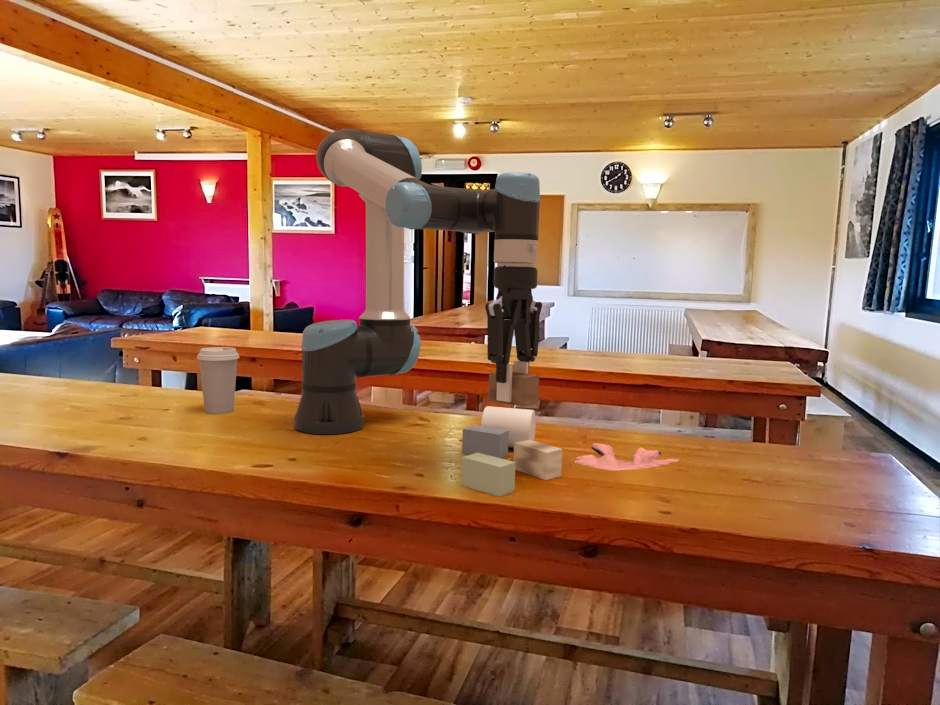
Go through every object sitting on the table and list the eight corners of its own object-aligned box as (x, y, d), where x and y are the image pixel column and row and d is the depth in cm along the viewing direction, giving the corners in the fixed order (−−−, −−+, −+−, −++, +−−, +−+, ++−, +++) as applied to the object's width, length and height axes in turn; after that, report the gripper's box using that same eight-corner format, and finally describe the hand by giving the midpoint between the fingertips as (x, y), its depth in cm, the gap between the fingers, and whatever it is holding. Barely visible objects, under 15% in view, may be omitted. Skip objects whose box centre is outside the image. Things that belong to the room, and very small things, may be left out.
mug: (528, 454, 134) (530, 414, 133) (479, 449, 136) (480, 410, 135) (537, 439, 145) (539, 402, 144) (492, 435, 148) (493, 399, 147)
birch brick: (513, 469, 124) (514, 442, 123) (528, 465, 126) (529, 439, 126) (545, 480, 118) (547, 452, 117) (561, 476, 120) (562, 449, 120)
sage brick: (461, 486, 114) (462, 457, 113) (476, 480, 117) (477, 452, 116) (499, 497, 109) (500, 467, 108) (514, 491, 112) (515, 462, 111)
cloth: (562, 468, 127) (563, 455, 127) (584, 441, 148) (585, 430, 147) (676, 483, 120) (677, 470, 120) (682, 452, 141) (683, 441, 140)
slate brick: (462, 453, 133) (462, 428, 132) (471, 449, 137) (472, 424, 136) (499, 460, 129) (499, 434, 129) (507, 455, 133) (508, 430, 132)
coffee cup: (232, 416, 158) (230, 352, 156) (191, 414, 158) (189, 351, 156) (245, 407, 167) (245, 347, 166) (207, 406, 168) (206, 346, 166)
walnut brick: (488, 400, 121) (488, 372, 120) (501, 397, 124) (502, 370, 123) (525, 406, 116) (526, 377, 115) (538, 403, 119) (539, 375, 118)
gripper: (502, 264, 108) (498, 409, 111) (561, 266, 121) (557, 396, 124) (466, 264, 113) (464, 402, 116) (527, 266, 126) (523, 390, 129)
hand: (512, 398), depth 120 cm, fingers closed on walnut brick, 4 cm apart
